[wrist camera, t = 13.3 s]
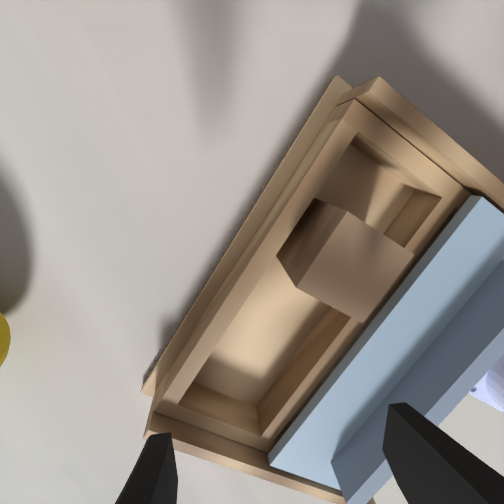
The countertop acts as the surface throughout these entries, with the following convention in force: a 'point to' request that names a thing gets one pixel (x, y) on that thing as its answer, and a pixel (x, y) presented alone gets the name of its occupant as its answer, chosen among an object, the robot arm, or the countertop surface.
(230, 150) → the countertop surface
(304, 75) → the countertop surface
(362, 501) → the lid
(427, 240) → the wooden tray
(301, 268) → the block
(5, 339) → the lemon
